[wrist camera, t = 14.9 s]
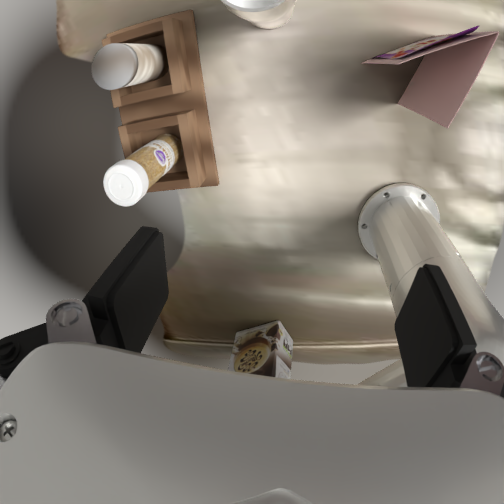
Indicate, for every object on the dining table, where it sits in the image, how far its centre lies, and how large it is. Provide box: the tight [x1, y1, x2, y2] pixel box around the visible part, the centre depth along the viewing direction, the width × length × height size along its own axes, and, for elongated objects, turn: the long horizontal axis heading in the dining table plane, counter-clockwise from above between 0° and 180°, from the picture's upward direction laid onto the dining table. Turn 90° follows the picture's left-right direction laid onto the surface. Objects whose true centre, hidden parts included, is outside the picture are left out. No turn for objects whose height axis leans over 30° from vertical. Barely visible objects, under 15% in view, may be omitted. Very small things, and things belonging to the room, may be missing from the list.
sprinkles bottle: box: [103, 134, 183, 206], centre depth 35 cm, size 5×4×14 cm
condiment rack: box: [91, 10, 219, 193], centre depth 34 cm, size 24×12×11 cm, turn 7°
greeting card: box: [362, 26, 499, 128], centre depth 25 cm, size 11×7×15 cm, turn 121°
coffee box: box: [228, 321, 293, 379], centre depth 52 cm, size 9×6×16 cm
